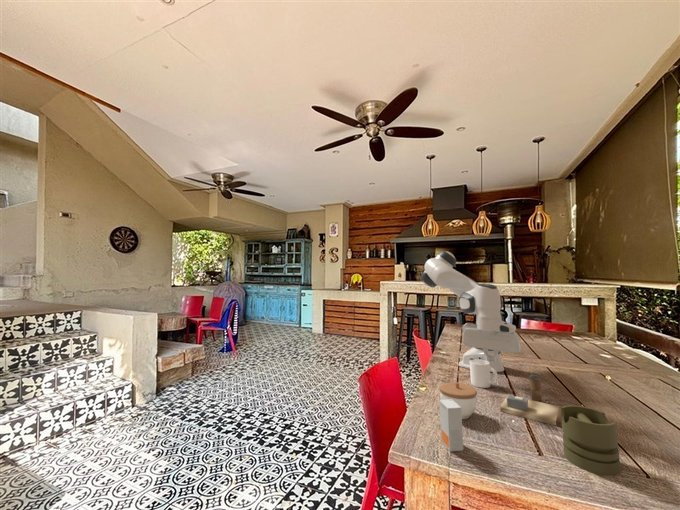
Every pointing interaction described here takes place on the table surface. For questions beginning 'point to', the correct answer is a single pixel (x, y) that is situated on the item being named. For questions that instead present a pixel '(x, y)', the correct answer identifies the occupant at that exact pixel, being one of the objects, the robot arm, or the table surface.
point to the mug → (481, 373)
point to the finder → (517, 402)
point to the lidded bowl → (460, 396)
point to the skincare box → (451, 425)
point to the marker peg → (535, 388)
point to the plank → (537, 412)
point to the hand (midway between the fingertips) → (491, 361)
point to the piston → (590, 440)
